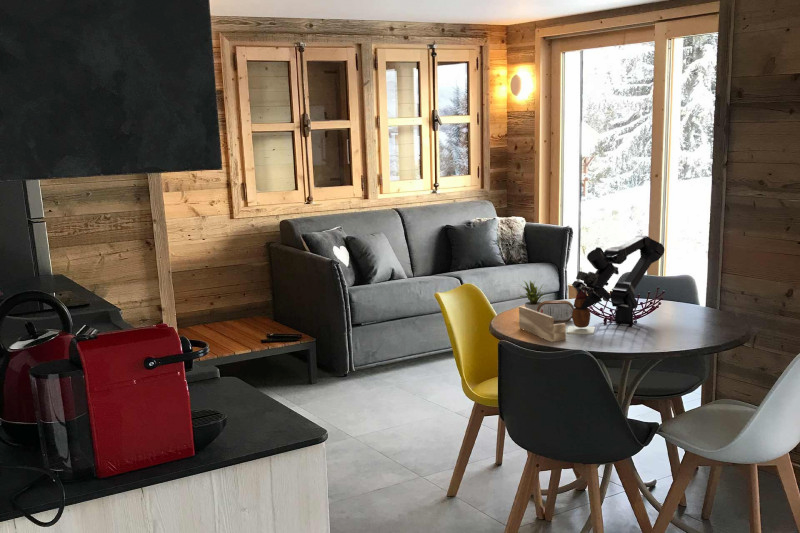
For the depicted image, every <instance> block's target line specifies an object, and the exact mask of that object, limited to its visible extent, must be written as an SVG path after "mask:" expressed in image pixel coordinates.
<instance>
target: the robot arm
mask: <svg viewBox="0 0 800 533" xmlns="http://www.w3.org/2000/svg"><path fill="white" fill-rule="evenodd" d="M638 250H639V252H640V254H639V255H640V257H639V258H638V260H637V262H636V263H635V265H634V266H633V268H632V269H631V271H630V272H629V274H628V275H627V277H626V278H625V279H624V281H623V282H616V283H615V285H614V286H613V288H611V292H609V291H608V290H606V289H605V286H609V283H608V282H609V280H610V279H611V278H612V276H613V275H614V274H615V275H617V276H618V275H619V267H617V266H614V264H615V265H622V264H623V263H624V262H625V261H626V260H627V257H628V256H629V255H631V254H634V253H635V252H637V251H638ZM664 254H665V246H664V245H663V244H662V243H661V242H658V241H657V240H655V239H652V238H651V237H650V236H648V235H641V234H639V235H636V236H635V237H634V238H632V239H630V240H629V241H627V242H625V243H623V244H620V246H613V247H609V248H608V247H607V248H606V249H605V250H603V249H602V247H601V246H600V247H598V246H596V247H595V249H592V250H591V251H590V252H589V253H587V255H586V259H587V261H588V262H589V263H590V264H591V266H592V267H593V268H594V269H595V270H596V271H595V272H593V271H588V272H585V271H581V270H578V273H577V276H576V277H575V278H576V280H574V281H573V283H572V284H571V286H572V288H574V289H575V290H576V295H578V294H579V293H580V295H581V290H582V293H583V294H584V290H585V288H586V300H585V301H584V303H583V305H582V306H581V309H582V310H584V309H586V308H588V309H589V307H591V306H593V305H596V304H597V303H601V302H602V301H603V302H609V301H611V305H612V307H613V308H616V309H615V310H614V322H616V323H615V324H623V325H627V324H628V325H633V324H634V310H635V309H636V308H638V305H639V301H638V300H637V299H636V298H635V296H636V292H635V290H636V288H637V286H638V285H639V284H640V282H641V280H642V279H643V277H644V275H645V274H646V273H647V271H648V270H649V268H650V266H651V265H652V264H653V263H655V262H657V261H659V260H660V259H661V258H662V257H663V255H664ZM572 305H573V307H574V308H576V307H575V305H574V304H572Z"/></svg>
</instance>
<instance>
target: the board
mask: <svg viewBox="0 0 800 533" xmlns="http://www.w3.org/2000/svg"><path fill="white" fill-rule="evenodd" d="M595 331H596V327H595V326H589V325H588V326H587V327H584V328H579V327H576V326H575V325H568V328H567V331H566V335H568V334H571V335H572V334H573V335H594V334H595Z"/></svg>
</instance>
